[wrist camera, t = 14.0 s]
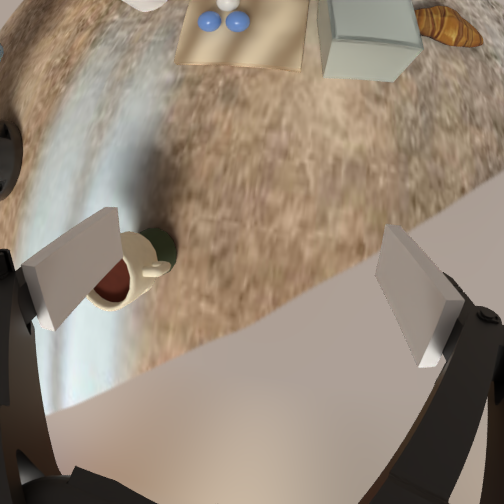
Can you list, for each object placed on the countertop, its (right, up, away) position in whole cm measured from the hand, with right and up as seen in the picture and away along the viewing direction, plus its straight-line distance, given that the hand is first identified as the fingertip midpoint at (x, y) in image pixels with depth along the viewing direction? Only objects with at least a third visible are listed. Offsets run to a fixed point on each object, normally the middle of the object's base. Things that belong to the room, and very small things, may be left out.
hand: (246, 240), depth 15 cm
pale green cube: (+13, +25, +17) cm, 33 cm away
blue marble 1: (-5, +28, +18) cm, 34 cm away
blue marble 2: (-1, +28, +17) cm, 33 cm away
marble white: (-3, +31, +17) cm, 36 cm away
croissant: (+27, +30, +15) cm, 43 cm away
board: (-1, +29, +18) cm, 34 cm away
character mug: (-12, 0, +26) cm, 28 cm away
